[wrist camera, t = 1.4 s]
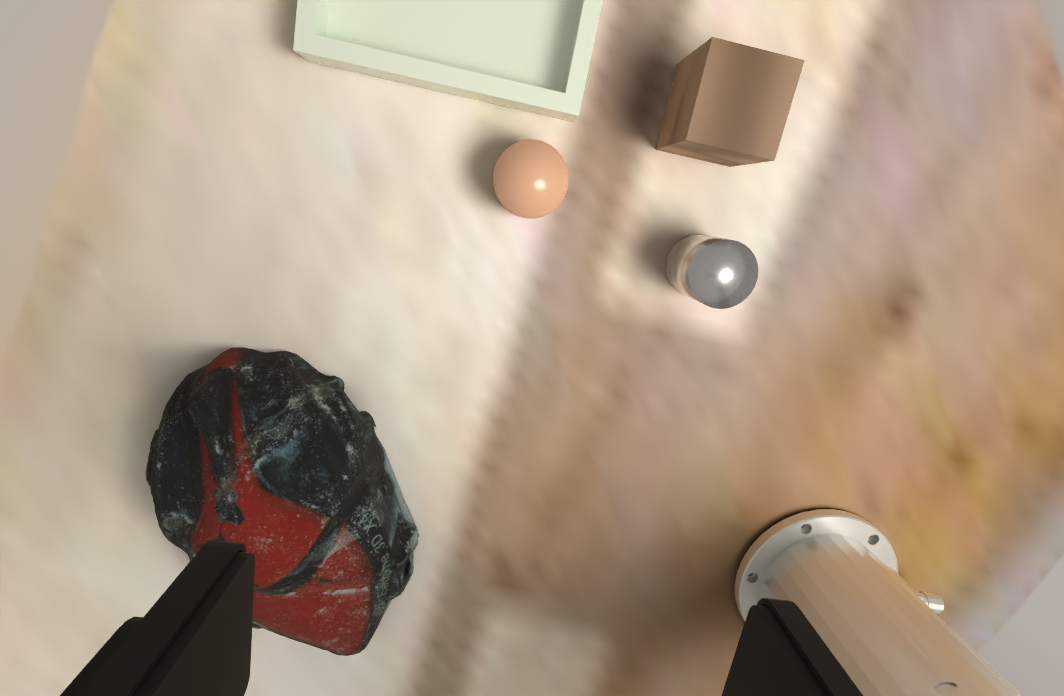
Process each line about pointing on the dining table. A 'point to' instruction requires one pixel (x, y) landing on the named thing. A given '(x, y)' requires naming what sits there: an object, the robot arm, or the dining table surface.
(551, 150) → the peach rounded capsule
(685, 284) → the grey cylinder
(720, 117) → the walnut block
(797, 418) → the dining table surface
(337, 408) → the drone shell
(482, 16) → the tray
